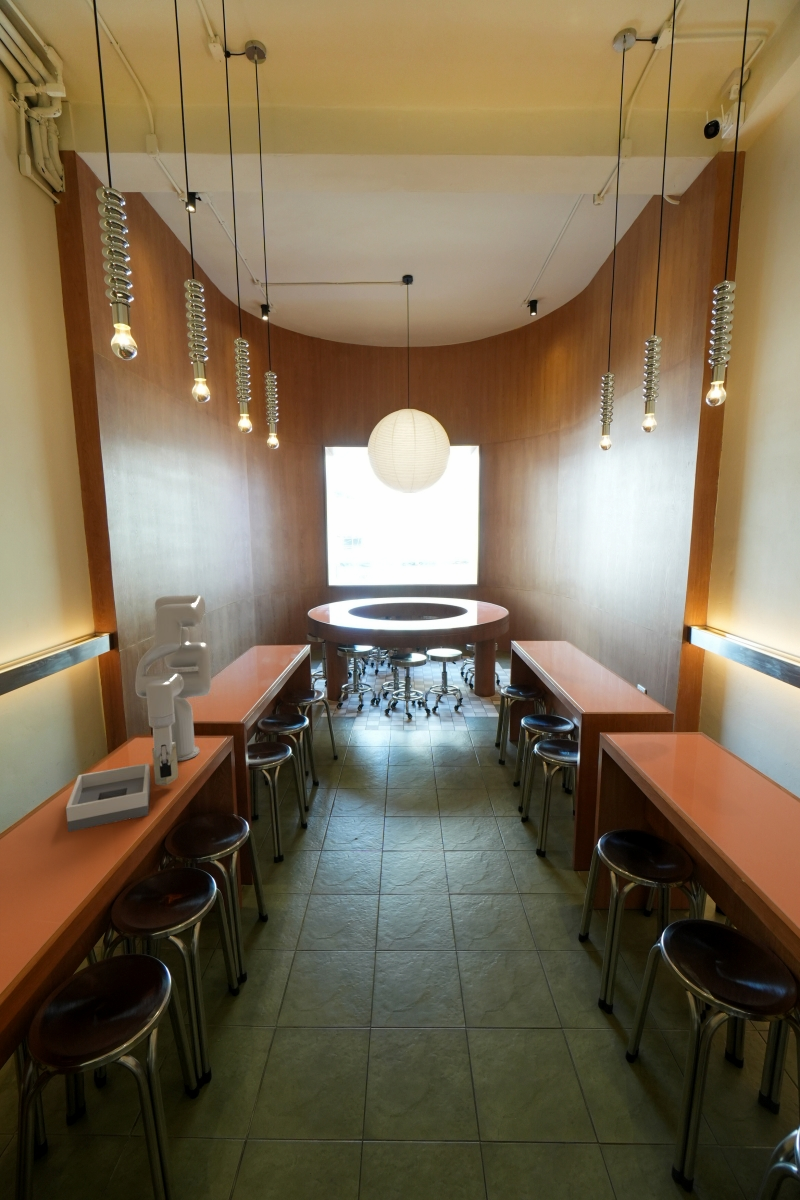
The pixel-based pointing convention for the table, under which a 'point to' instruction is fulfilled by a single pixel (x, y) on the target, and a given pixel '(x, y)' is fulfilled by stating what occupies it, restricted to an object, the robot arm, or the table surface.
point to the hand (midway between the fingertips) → (166, 770)
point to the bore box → (109, 797)
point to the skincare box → (173, 767)
